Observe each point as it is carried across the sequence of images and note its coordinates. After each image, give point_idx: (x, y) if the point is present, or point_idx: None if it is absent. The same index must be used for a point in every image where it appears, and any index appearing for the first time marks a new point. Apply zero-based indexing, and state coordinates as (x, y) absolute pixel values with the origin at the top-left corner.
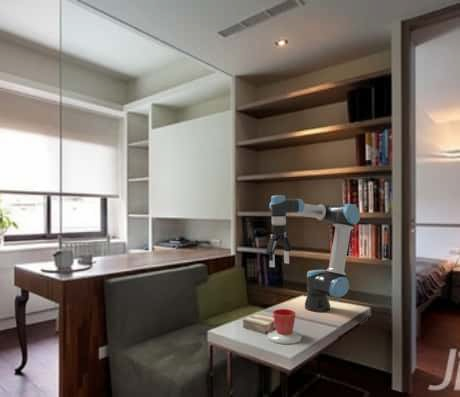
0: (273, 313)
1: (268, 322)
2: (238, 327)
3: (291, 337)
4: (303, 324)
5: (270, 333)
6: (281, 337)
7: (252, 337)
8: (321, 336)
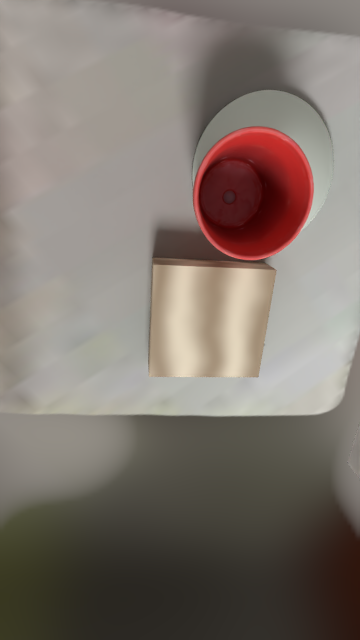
0: (293, 239)
1: (234, 278)
2: None
3: None
4: (66, 181)
5: None
6: None
7: (318, 279)
8: (158, 20)
